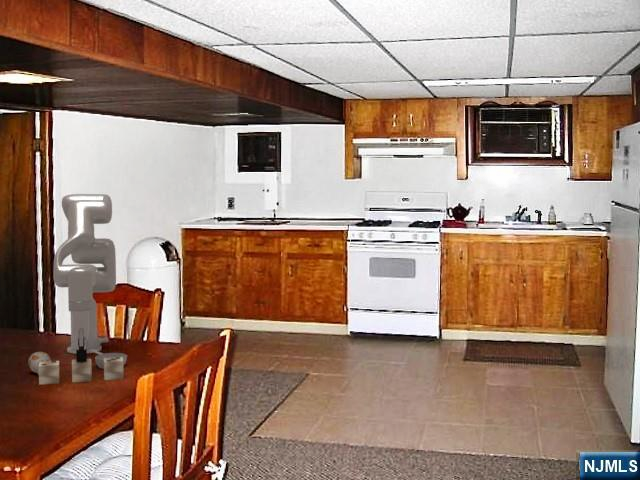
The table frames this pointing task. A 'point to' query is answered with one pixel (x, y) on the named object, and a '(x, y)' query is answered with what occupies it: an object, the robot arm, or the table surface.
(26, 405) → the table surface
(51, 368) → the pip block
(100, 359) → the small pan
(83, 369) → the plain block
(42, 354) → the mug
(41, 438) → the table surface
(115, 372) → the pip block
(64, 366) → the table surface
